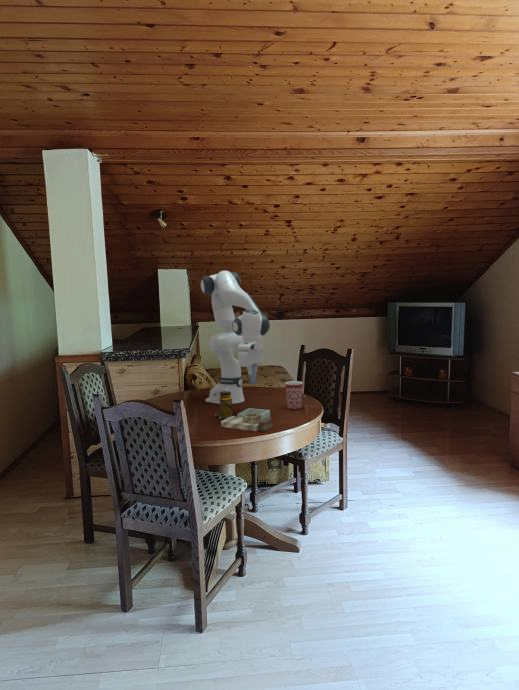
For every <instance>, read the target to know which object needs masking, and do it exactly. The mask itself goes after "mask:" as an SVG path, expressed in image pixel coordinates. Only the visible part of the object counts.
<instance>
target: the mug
mask: <svg viewBox="0 0 519 690" xmlns="http://www.w3.org/2000/svg"><path fill="white" fill-rule="evenodd" d="M284 384H285V393H286V407H287V409H288V410H291V409H297V410H301V409H300V408H302V400H303V399H302V397H303V396H302V395H303V382H302V381H298V380H297V381H296V380H292V381H291V380H290V381H286V382H285V383H284Z"/></svg>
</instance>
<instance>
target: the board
mask: <svg viewBox="0 0 519 690" xmlns="http://www.w3.org/2000/svg"><path fill="white" fill-rule="evenodd" d="M261 420H263V419H261V414H254V413H248V414H246V415H244V416H243V417H238V416H237V415H236V416H235V415H233V416H231V417H226V418H225V419H223V420H221V422H220V427H221V428H226V429H227V428H229V429H234V430H243V431H253V432H257V431H258V422H259V421H261Z"/></svg>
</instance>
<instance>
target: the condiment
mask: <svg viewBox="0 0 519 690" xmlns="http://www.w3.org/2000/svg"><path fill="white" fill-rule="evenodd" d="M216 414H217V415H220V416H221V417H219V418H218V419H223V418H225V417H226V418H229V417H230V416H232V414H233V404H232V398H231V392H229V391H223V392H221V393H220V404H219V413H214V415H215V416H216ZM222 417H223V418H222Z"/></svg>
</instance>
